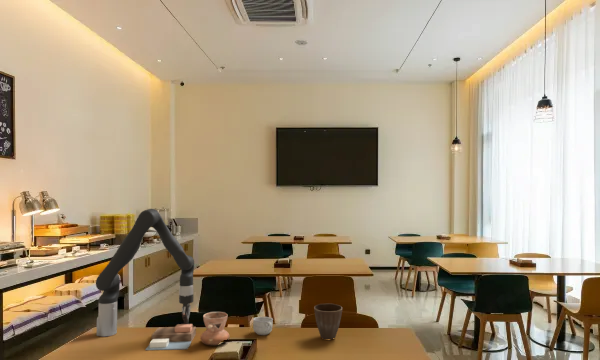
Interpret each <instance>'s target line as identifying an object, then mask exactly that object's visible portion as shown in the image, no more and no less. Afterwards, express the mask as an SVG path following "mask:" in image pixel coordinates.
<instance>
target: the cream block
mask: <svg viewBox="0 0 600 360" xmlns="http://www.w3.org/2000/svg"><path fill="white" fill-rule="evenodd" d="M168 344H169V339H152V338H151V341H150V342H149V345H150V348H159V347H167V346H168Z"/></svg>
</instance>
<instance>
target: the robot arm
mask: <svg viewBox="0 0 600 360" xmlns="http://www.w3.org/2000/svg"><path fill="white" fill-rule="evenodd" d="M151 228H153V229H154V230H155V231H156V233H157V234H158V236H159V238H160V240H161V242H162V245H163V246H164V248H165V249H166V250H167V252H168V253H169V254H170V256H171V257H172V258H173V260H174V261H175V263H176V265H177V266H178V268H180V270H181V271H180V275H179V289H178V301H179V302H178V303H179V304H181V305H182V306H181V310H182V311H181V317H182V320H183V324H189V318H190V316H191V309H192V308H191V307H192V306H191V305H190V304H192V303H193V302H194V296H195V295H194V270H195V259H194V257H192V255H187V253H186V252H185V250H184V247H183V246H182V245H181V243H180V242H179V241H178V240H177V238H176V237H175V236H174V235H173V233H172V232H171V230H170V229H169V228H168V226H167V224H166V223H165V221H164V219H163V217H162V216H161V214H160V212H159V211H158V209H155V208H147V209H145V210H142V211H141V212H140V213H139V215H138V216H137V218H136V220H135V222H134V224H133V226H132V228H131V230H130V231H129V233H128V234H127V235H126V237H124V239H123V240H122V242H121V243H120V245H119V246H118V248H117V249H116V250H115V251H116V252H115V253H114V255H113V256H112V257H111V259H110V260H109V262H108V264H107V265H106V266H105V267H104V268H103V270H102V271H101V272H100V273H99V275H98V276H97V278H96V280H95V286H96V288H97V290H98V291H101V292H102V294H101V295H100V296H99V297H98V314H97V315H98V316H97V318H96V336H97V337H111V336H114V335H116V334H117V332H118V331H117V330H118V299H119V296H120V286H121V285H120V284H121V280H120V275H119V272H120V271H121V270H122V269H123V268H125V266H127V265H128V264H129V263H130V262H131V261H132V259H134V258H135V255H136V254H137V253H138V251H139V249H140V248H141V244H142V241H143V237H145V235H146V233H147V232H148V231H149V229H151Z"/></svg>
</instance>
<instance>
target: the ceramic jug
mask: <svg viewBox="0 0 600 360" xmlns="http://www.w3.org/2000/svg"><path fill="white" fill-rule="evenodd" d="M202 318H203V323H204V326H205V327H206V330H205V331H203V332H202V333H201V335H200V341H201V342H202V343H203V344H204V345H207V346H219V345H218V344H219V343H220V342H221V341H223V340H227V339H228V340H229V339H230V334H229V331H227V330H226V329H224V328H225V326H226V323H227V320H228V313H226V312H225V311H210V312H207V313H205V314H203V316H202Z"/></svg>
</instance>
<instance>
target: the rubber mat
mask: <svg viewBox="0 0 600 360" xmlns="http://www.w3.org/2000/svg"><path fill="white" fill-rule="evenodd" d="M191 343H192V342H191V341H181V342H169V344H168V346H167V347H159V348H150V344H148V346H147V347H146V348H145V351H175V350H177V351H178V350H188V349H189V347H190V346H191Z"/></svg>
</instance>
